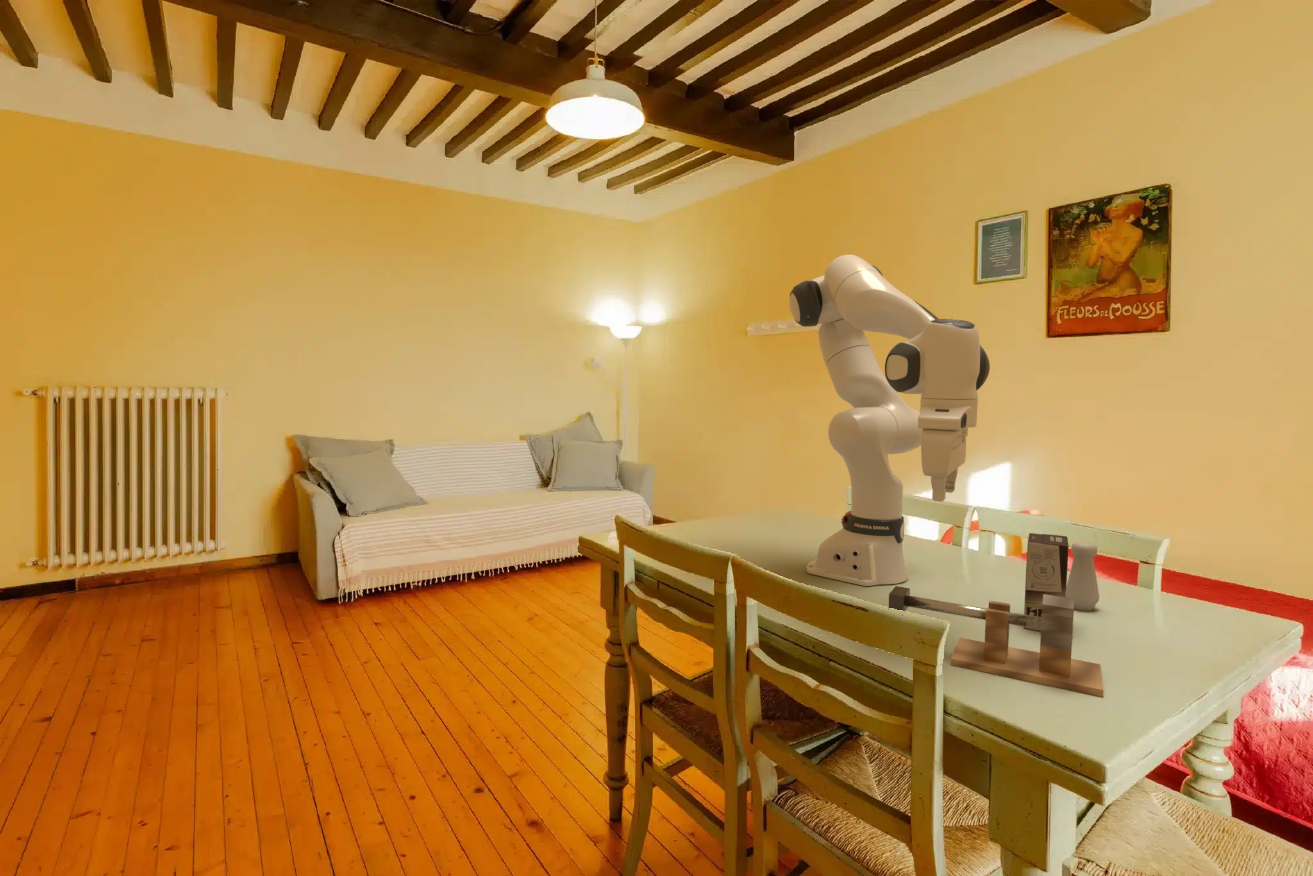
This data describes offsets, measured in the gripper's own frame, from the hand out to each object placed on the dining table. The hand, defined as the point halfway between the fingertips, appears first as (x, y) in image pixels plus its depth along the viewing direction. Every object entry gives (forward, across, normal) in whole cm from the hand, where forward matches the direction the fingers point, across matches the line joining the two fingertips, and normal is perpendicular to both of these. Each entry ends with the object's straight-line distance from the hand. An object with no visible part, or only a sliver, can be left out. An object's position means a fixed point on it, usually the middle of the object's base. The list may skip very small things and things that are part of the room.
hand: (943, 496), depth 111 cm
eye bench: (+25, +5, +14) cm, 29 cm away
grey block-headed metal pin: (+19, +5, +4) cm, 20 cm away
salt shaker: (+25, -32, +21) cm, 46 cm away
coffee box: (+25, -18, +15) cm, 35 cm away
